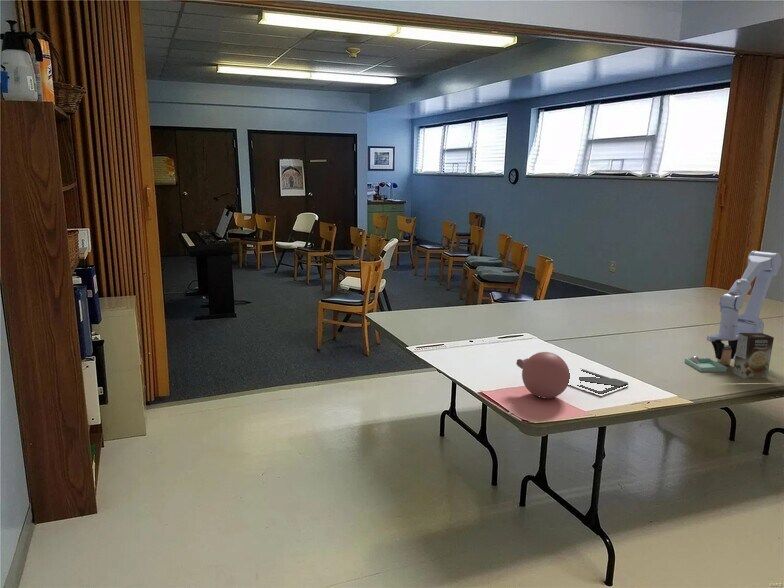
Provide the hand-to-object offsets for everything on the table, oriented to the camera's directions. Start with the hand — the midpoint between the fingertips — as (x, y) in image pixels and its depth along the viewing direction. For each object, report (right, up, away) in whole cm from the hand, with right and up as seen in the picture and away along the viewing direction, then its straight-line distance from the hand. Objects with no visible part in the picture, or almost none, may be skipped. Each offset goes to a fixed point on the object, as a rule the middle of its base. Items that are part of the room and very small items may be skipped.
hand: (724, 358), depth 214 cm
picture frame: (-59, -8, -17) cm, 62 cm away
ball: (-11, -2, +1) cm, 11 cm away
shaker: (0, -2, 0) cm, 2 cm away
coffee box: (+3, -6, -11) cm, 13 cm away
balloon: (-80, -9, -27) cm, 85 cm away
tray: (-9, -3, -2) cm, 9 cm away
